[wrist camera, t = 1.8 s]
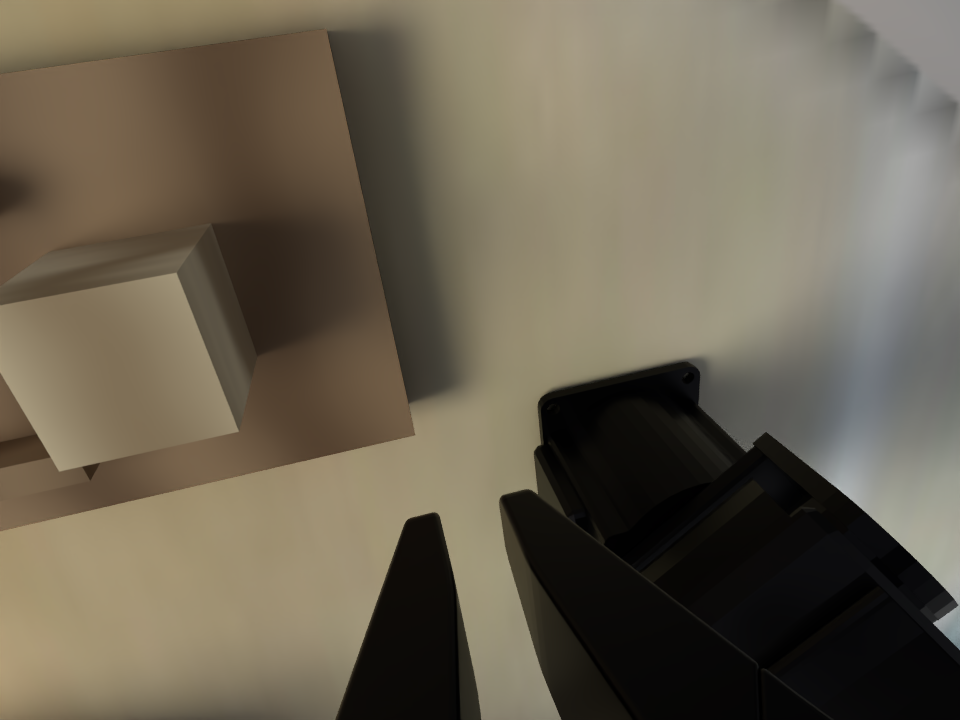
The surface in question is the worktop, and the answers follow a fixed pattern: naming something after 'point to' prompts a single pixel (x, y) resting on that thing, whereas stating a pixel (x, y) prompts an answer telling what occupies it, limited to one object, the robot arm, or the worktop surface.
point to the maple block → (127, 346)
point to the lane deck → (240, 235)
